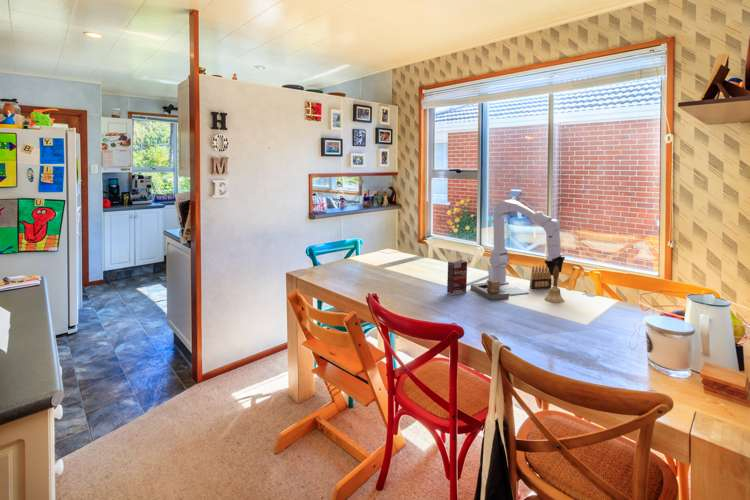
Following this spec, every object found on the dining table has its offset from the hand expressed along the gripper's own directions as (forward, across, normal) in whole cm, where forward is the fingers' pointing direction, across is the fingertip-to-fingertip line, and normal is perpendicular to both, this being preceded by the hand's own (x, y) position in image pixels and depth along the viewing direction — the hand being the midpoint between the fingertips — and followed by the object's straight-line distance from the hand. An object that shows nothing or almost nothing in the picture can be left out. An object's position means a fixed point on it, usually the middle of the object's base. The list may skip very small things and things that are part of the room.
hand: (555, 273), depth 198 cm
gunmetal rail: (+7, -18, +26) cm, 32 cm away
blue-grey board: (+8, -7, +18) cm, 21 cm away
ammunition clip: (+9, +6, +10) cm, 15 cm away
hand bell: (+11, -8, -1) cm, 14 cm away
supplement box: (+6, -26, +39) cm, 47 cm away
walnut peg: (+8, -20, +23) cm, 31 cm away
